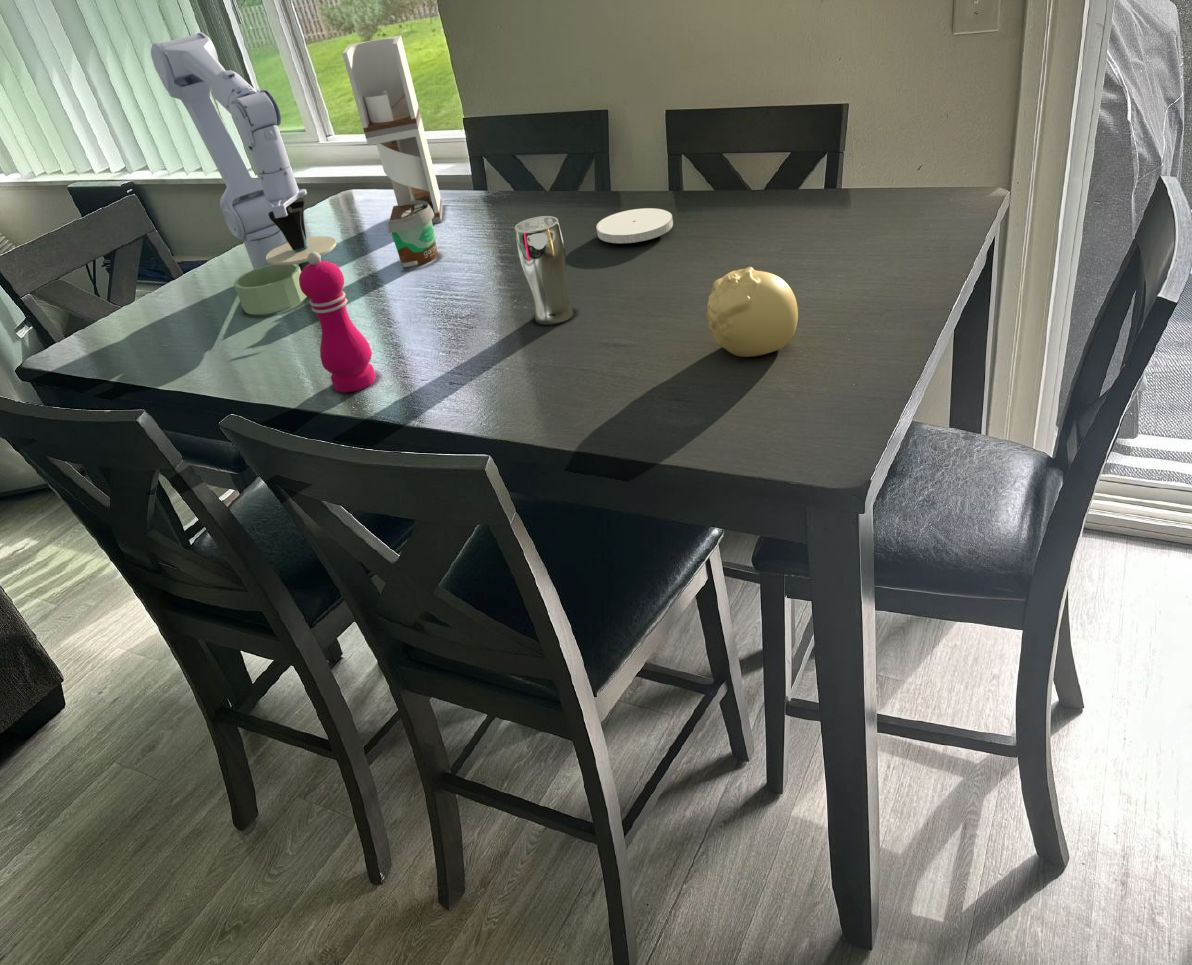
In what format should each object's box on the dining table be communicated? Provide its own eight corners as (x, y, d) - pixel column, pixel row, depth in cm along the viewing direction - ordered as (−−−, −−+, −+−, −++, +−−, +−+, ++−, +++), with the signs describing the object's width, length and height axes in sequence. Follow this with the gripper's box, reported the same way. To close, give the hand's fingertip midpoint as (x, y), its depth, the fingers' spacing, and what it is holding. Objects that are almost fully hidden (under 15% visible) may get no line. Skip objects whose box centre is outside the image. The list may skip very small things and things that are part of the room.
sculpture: (707, 334, 133) (700, 262, 127) (792, 323, 131) (789, 250, 125) (713, 370, 123) (706, 294, 117) (805, 359, 122) (802, 282, 116)
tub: (250, 298, 175) (240, 270, 172) (311, 286, 176) (302, 258, 173) (240, 322, 165) (229, 293, 162) (305, 308, 166) (295, 279, 163)
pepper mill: (334, 375, 140) (291, 248, 129) (382, 367, 140) (342, 238, 129) (327, 398, 134) (280, 266, 123) (376, 389, 134) (334, 256, 123)
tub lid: (272, 250, 172) (262, 223, 169) (340, 236, 173) (331, 209, 170) (263, 273, 161) (252, 245, 159) (335, 259, 162) (326, 230, 159)
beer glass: (582, 307, 147) (566, 214, 139) (567, 326, 142) (549, 231, 134) (542, 307, 150) (524, 216, 142) (525, 326, 145) (506, 232, 136)
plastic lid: (686, 223, 173) (685, 209, 172) (649, 251, 164) (648, 237, 162) (622, 219, 180) (621, 206, 179) (584, 246, 171) (581, 232, 170)
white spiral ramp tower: (395, 215, 206) (348, 44, 187) (442, 206, 207) (400, 35, 187) (391, 231, 197) (342, 53, 178) (441, 221, 197) (397, 43, 178)
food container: (431, 272, 172) (417, 219, 166) (401, 274, 173) (386, 221, 168) (453, 247, 182) (440, 196, 176) (423, 249, 183) (410, 199, 178)
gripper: (292, 174, 153) (318, 254, 160) (301, 154, 165) (325, 228, 172) (249, 183, 152) (277, 262, 160) (261, 162, 165) (287, 236, 172)
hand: (299, 245), depth 166 cm, fingers closed on tub lid, 2 cm apart
